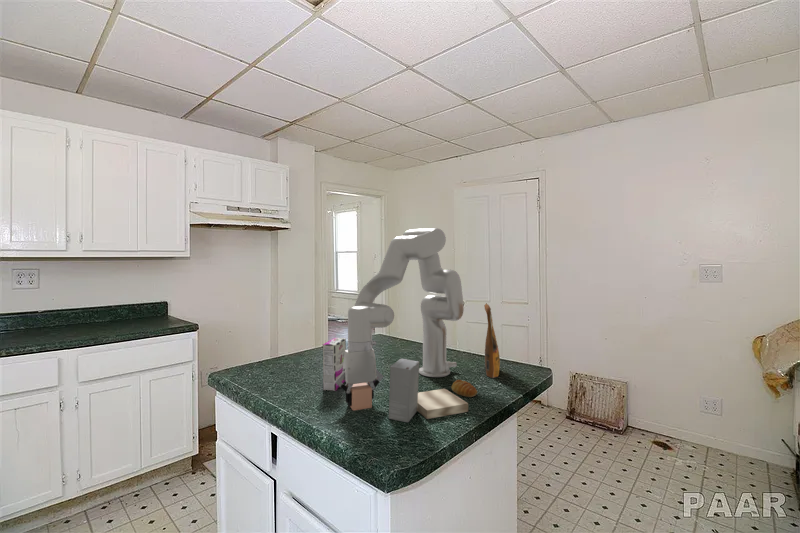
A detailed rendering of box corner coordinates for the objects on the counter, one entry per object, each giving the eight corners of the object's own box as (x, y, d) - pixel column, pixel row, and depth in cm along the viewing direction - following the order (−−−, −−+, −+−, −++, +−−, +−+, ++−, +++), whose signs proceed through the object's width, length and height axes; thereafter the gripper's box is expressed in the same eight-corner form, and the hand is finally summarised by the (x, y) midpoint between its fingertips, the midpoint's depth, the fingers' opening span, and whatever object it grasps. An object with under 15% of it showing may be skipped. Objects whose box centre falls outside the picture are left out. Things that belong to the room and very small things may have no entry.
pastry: (482, 395, 127) (482, 384, 127) (467, 400, 123) (467, 388, 123) (462, 387, 135) (462, 377, 134) (448, 391, 131) (448, 380, 131)
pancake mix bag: (481, 378, 145) (482, 306, 144) (484, 365, 163) (484, 301, 162) (499, 380, 143) (500, 307, 142) (500, 366, 161) (500, 301, 161)
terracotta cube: (365, 400, 121) (365, 382, 121) (371, 407, 116) (371, 388, 116) (347, 403, 119) (347, 384, 119) (353, 410, 113) (353, 391, 113)
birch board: (444, 395, 126) (444, 388, 126) (468, 411, 113) (468, 403, 113) (407, 401, 120) (407, 394, 120) (427, 419, 108) (427, 410, 108)
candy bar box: (333, 380, 141) (334, 337, 141) (346, 381, 140) (346, 338, 140) (321, 390, 130) (322, 343, 130) (335, 391, 129) (335, 344, 129)
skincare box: (398, 408, 115) (398, 357, 115) (420, 412, 112) (420, 360, 112) (387, 419, 107) (387, 364, 107) (410, 423, 104) (410, 367, 104)
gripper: (381, 341, 124) (381, 395, 124) (329, 345, 117) (329, 402, 117) (389, 346, 117) (389, 403, 117) (335, 351, 110) (335, 411, 110)
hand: (359, 402), depth 117 cm, fingers closed on terracotta cube, 6 cm apart
